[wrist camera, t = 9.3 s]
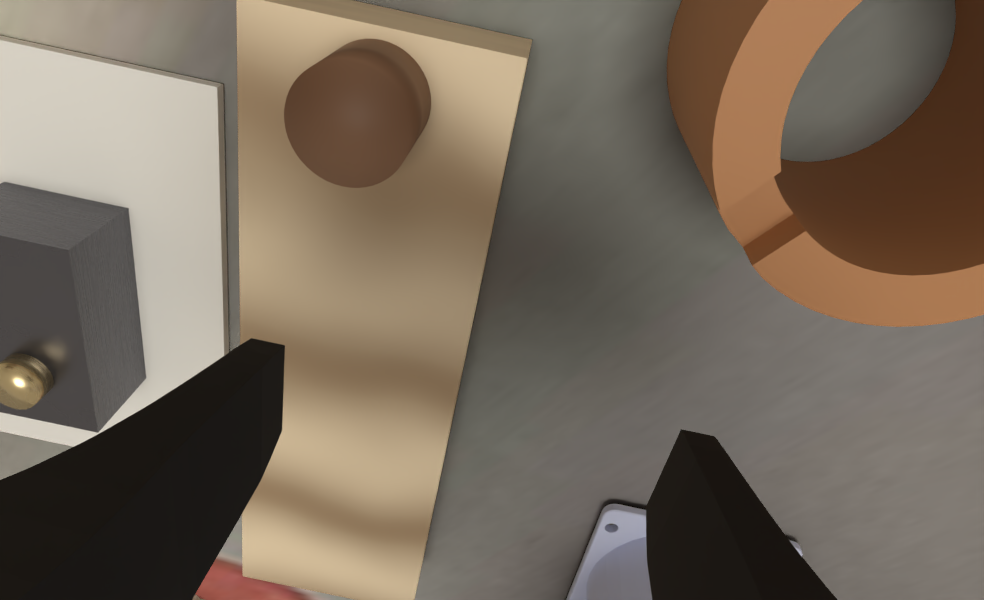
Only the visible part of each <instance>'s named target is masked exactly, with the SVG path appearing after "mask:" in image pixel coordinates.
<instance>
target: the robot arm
mask: <svg viewBox="0 0 984 600" xmlns="http://www.w3.org/2000/svg"><path fill="white" fill-rule="evenodd" d="M284 360H285V345H282V344H277V343H272V342H267V341H263V340H258V339H253V338H251V339H249V340H247V341H246V342H244V343H243V344H241V345H240V346H238V347H236V348H235V349H233V350H232V351H230V352H229V353H228V354H226V355H225V356H223V357H222V358H220V359H219V360H217V361H216V362H214V363H213V364H211V365H210V366H208V367H207V368H205V369H204V370H202V371H201V372H199V373H198V374H196V375H195V376H193V377H192V378H190V379H189V380H187V381H186V382H184V383H183V384H181V385H179V386H178V387H176V388H175V389H173V390H172V391H170V392H168V393H167V394H165V395H164V396H162V397H161V398H159V399H157V400H156V401H154V402H153V403H151V404H149V405H148V406H146V407H145V408H143V409H141V410H139V411H138V412H136V413H134V414H132V415H131V416H129V417H127V418H126V419H124V420H122V421H120V422H119V423H117V424H115V425H113V426H112V427H110V428H108V429H106V430H105V431H103V432H101V433H99V434H98V435H96V436H94V437H92V438H90V439H88V440H86V441H84V442H82V443H80V444H78V445H76V446H74V447H73V448H71V449H68V450H66V451H64V452H62V453H60V454H58V455H56V456H54V457H52V458H50V459H48V460H45V461H43V462H41V463H39V464H37V465H35V466H33V467H30V468H28V469H26V470H24V471H21V472H19V473H17V474H14V475H12V476H9V477H7V478H4V479H2V480H0V600H192V599H193V597H194V595H195V593H196V592H197V590H198V588H199V586H200V585H201V583H202V581H203V579H204V578H205V576H206V574H207V573H208V571H209V569H210V567H211V566H212V564H213V562H214V561H215V559H216V557H217V555H218V554H219V552H220V550H221V549H222V547H223V545H224V544H225V542H226V540H227V538H228V537H229V535H230V533H231V532H232V530H233V528H234V526H235V525H236V523H237V521H238V520H239V518H240V516H241V514H242V513H243V511H244V509H245V507H246V506H247V504H248V502H249V501H250V499H251V497H252V495H253V494H254V492H255V490H256V488H257V487H258V485H259V483H260V481H261V479H262V477H263V475H264V472H265V470H266V468H267V466H268V463H269V461H270V459H271V456H272V454H273V452H274V449H275V447H276V444H277V442H278V439H279V437H280V435H281V432H282V421H283V390H284ZM609 524H613V525H609ZM802 555H803V554H802V551H801V548H800V545H799V544H798V543H797V542H794V541H791V540H788V538H787V537H786V536H785V534H784V533H783V532H782V530H781V529H780V528H779V526H778V525H777V524H776V522H775V521H774V519H773V518H772V517H771V515H770V514H769V513H768V511H767V510H766V508H765V507H764V506H763V504H762V503H761V501H760V500H759V499H758V497H757V496H756V494H755V493H754V492H753V490H752V489H751V487H750V486H749V484H748V483H747V482H746V480H745V479H744V477H743V476H742V474H741V473H740V472H739V470H738V469H737V467H736V466H735V464H734V463H733V461H732V460H731V459H730V457H729V456H728V454H727V453H726V451H725V450H724V449H723V447H722V446H721V444H720V443H719V442H718V440H717V439H716V438H715V437H714V436H710V435H705V434H700V433H696V432H691V431H686V430H682V429H681V431H680V433H679V436H678V438H677V440H676V442H675V444H674V447H673V449H672V451H671V453H670V455H669V458H668V460H667V462H666V464H665V466H664V469H663V471H662V473H661V475H660V477H659V480H658V482H657V484H656V486H655V489H654V491H653V493H652V495H651V497H650V500H649V502H648V504H647V506H646V510H644V509H639V508H634V507H630V506H625V505H620V504H609V505H607V506H605V507H604V508H603V510H602V512H601V514H600V517H599V519H598V522H597V524H596V527H595V529H594V532H593V534H592V536H591V539H590V541H589V544H588V546H587V549H586V551H585V554H584V556H583V559H582V561H581V564H580V566H579V569H578V571H577V574H576V576H575V579H574V581H573V584H572V586H571V588H570V591H569V593H568V596H567V598H566V600H837V599H836V598H835V596H834V595H833V594H832V593H831V592H830V591H829V589H828V588H827V587H826V586H825V585H824V583H823V582H822V581H821V580H820V578H819V577H818V576H817V575H816V574H815V572H814V571H813V570H812V569H811V567H810V566H809V565H808V564H807V563H806V561H805V560H804V559H803V558H802Z"/></svg>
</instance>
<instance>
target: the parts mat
mask: <svg viewBox="0 0 984 600" xmlns="http://www.w3.org/2000/svg"><path fill="white" fill-rule="evenodd" d="M3 182H9V183H13V184H18V185H23V186H27V187H32V188H37V189H41V190H46V191H51V192H55V193H60V194H65V195H69V196H74V197H79V198H83V199H88V200H93V201H97V202H102V203H107V204H111V205H116V206H121V207H125V208H129V218H130V227H131V237H132V246H133V256H134V265H135V275H136V284H137V294H138V303H139V313H140V322H141V332H142V341H143V351H144V360H145V370H146V379H145V380H144V381H143V383H142V384H141V385H140V386H139V387H138V388H137V389H136V390H135V392H134V393H133V394H132V395H131V396H130V397H129V398H128V400H127V401H126V402H125V403H124V404H123V405H122V406H121V407H120V409H119V410H118V411H117V412H116V413H115V414H114V415H113V416H112V418H111V419H110V420H109V421H108V422H107V423H106V424H105V426H104V427H103V428H102V429H101V430H100V431H99V432H98V433H97V432H92V431H87V430H83V429H78V428H73V427H68V426H64V425H59V424H54V423H49V422H44V421H40V420H35V419H30V418H25V417H21V416H16V415H11V414H6V413H2V412H0V431H2V432H7V433H12V434H16V435H21V436H26V437H31V438H35V439H40V440H45V441H50V442H55V443H59V444H64V445H69V446H76V445H78V444H80V443H82V442H84V441H86V440H88V439H90V438H92V437H94V436H96V435H98V434H99V433H101V432H103V431H105V430H106V429H108V428H110V427H112V426H113V425H115V424H117V423H119V422H120V421H122V420H124V419H126V418H127V417H129V416H131V415H132V414H134V413H136V412H138V411H139V410H141V409H143V408H145V407H146V406H148V405H149V404H151V403H153V402H154V401H156V400H157V399H159V398H161V397H162V396H164V395H165V394H167V393H168V392H170V391H172V390H173V389H175V388H176V387H178V386H179V385H181V384H183V383H184V382H186V381H187V380H189V379H190V378H192V377H193V376H195V375H196V374H198V373H199V372H201V371H202V370H204V369H205V368H207V367H208V366H210V365H211V364H213V363H214V362H216V361H217V360H219V359H220V358H222V357H223V356H225V355H226V354H228V353H229V322H228V275H227V229H226V182H225V135H224V89H223V84H221V83H217V82H212V81H207V80H203V79H198V78H194V77H189V76H184V75H180V74H175V73H171V72H166V71H161V70H157V69H152V68H148V67H143V66H138V65H134V64H129V63H125V62H120V61H116V60H111V59H106V58H102V57H97V56H93V55H88V54H83V53H79V52H74V51H70V50H65V49H60V48H56V47H51V46H47V45H42V44H37V43H33V42H28V41H24V40H19V39H14V38H10V37H5V36H1V35H0V184H1V183H3Z"/></svg>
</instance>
